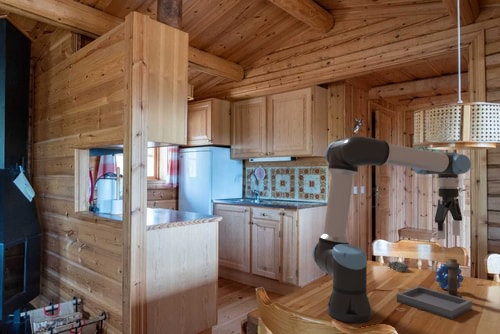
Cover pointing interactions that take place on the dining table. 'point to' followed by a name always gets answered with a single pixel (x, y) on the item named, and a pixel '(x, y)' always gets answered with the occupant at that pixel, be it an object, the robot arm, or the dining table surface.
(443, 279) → the grapes
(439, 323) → the dining table surface
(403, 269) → the egg carton
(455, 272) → the post
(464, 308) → the holder tray
